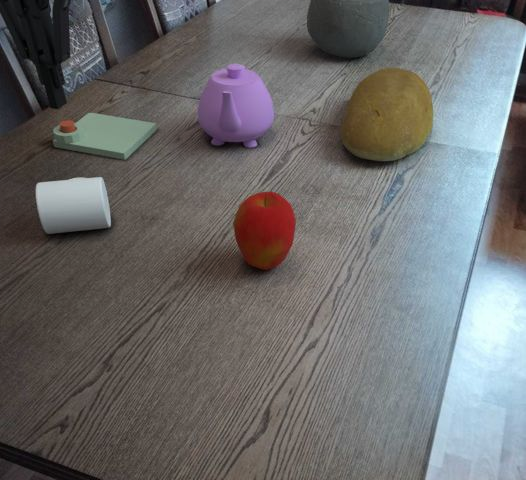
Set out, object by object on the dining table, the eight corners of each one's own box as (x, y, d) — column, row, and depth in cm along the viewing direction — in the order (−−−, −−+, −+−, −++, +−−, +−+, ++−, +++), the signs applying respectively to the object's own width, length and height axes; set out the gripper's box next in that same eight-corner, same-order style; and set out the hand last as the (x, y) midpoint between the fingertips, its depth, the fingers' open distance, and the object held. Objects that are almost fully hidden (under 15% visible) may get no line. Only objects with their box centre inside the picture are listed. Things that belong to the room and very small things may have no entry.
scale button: (58, 132, 109) (56, 125, 108) (66, 126, 111) (64, 119, 110) (70, 134, 108) (68, 127, 107) (78, 128, 110) (76, 121, 109)
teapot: (267, 166, 106) (268, 92, 96) (187, 161, 107) (180, 88, 97) (278, 117, 121) (280, 49, 111) (208, 113, 122) (204, 45, 112)
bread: (332, 164, 106) (337, 113, 99) (353, 93, 130) (359, 48, 123) (428, 176, 104) (441, 124, 96) (432, 101, 127) (443, 55, 120)
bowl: (291, 56, 147) (294, -9, 136) (327, 35, 159) (332, -26, 148) (363, 73, 139) (372, 5, 128) (395, 49, 151) (406, -15, 141)
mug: (111, 237, 89) (101, 193, 83) (47, 243, 88) (33, 199, 82) (110, 198, 97) (101, 155, 92) (52, 204, 96) (39, 161, 90)
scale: (51, 147, 110) (47, 133, 108) (89, 118, 120) (86, 104, 117) (124, 160, 107) (121, 146, 105) (157, 129, 116) (155, 115, 114)
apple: (254, 239, 89) (254, 170, 80) (304, 256, 86) (309, 187, 77) (223, 269, 84) (219, 199, 75) (275, 289, 80) (277, 219, 72)
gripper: (69, -73, 76) (104, 101, 93) (-12, -78, 78) (37, 92, 95) (38, -63, 71) (81, 120, 88) (-47, -68, 73) (11, 109, 90)
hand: (58, 105), depth 92 cm, fingers closed
